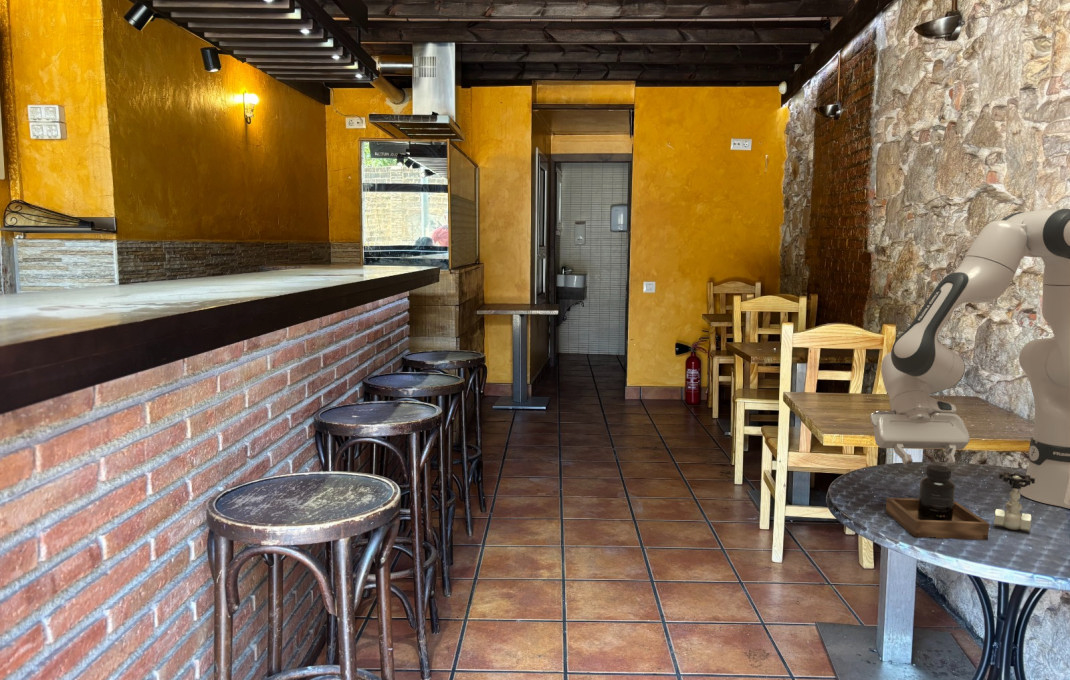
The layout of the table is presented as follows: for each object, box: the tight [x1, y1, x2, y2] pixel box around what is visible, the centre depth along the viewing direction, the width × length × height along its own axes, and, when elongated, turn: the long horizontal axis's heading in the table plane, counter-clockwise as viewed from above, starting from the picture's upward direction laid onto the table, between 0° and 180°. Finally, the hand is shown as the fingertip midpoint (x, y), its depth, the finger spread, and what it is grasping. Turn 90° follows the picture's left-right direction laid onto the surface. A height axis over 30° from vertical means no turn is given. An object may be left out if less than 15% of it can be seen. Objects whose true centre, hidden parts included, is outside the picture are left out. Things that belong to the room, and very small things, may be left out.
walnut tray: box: [885, 497, 990, 541], centre depth 168 cm, size 15×15×4 cm
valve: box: [993, 471, 1035, 532], centre depth 166 cm, size 7×7×12 cm
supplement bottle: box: [918, 464, 956, 521], centre depth 167 cm, size 7×7×12 cm
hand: (929, 463), depth 171 cm, fingers open, 8 cm apart
